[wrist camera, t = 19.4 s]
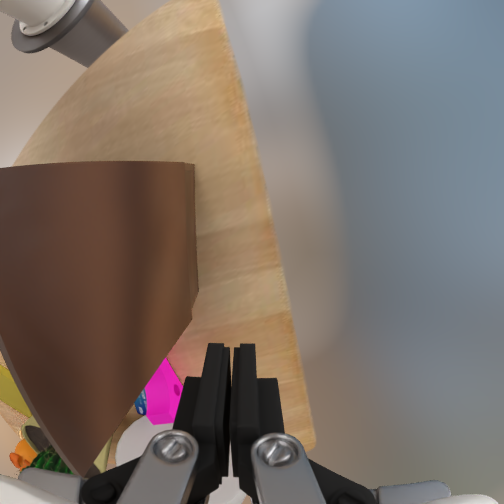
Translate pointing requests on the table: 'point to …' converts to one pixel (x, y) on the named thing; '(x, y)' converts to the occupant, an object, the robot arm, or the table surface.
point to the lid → (90, 291)
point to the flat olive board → (12, 393)
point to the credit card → (141, 403)
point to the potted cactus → (50, 457)
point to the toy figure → (22, 454)
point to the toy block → (163, 395)
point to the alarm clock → (136, 440)
